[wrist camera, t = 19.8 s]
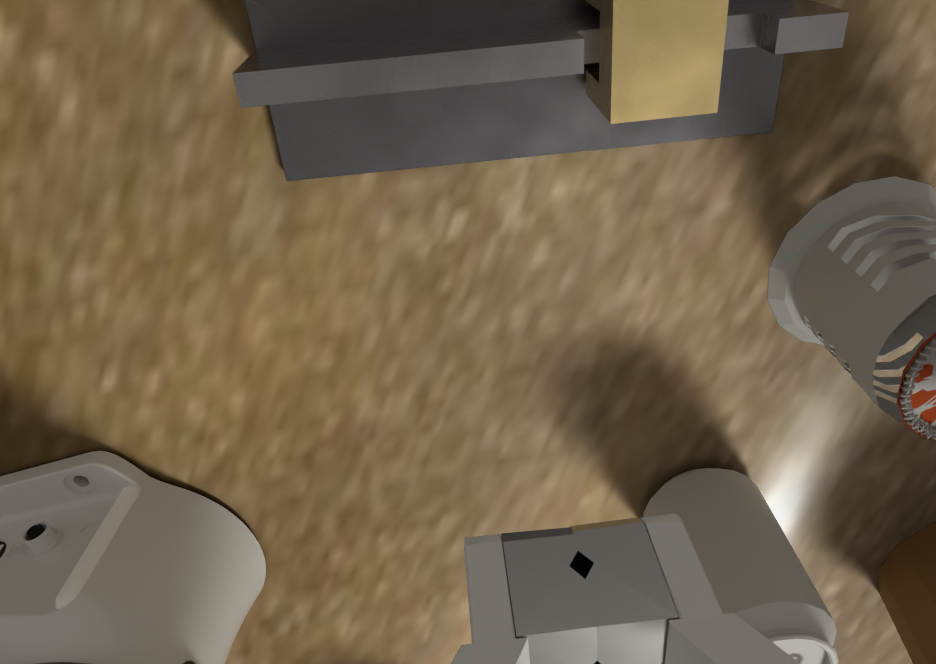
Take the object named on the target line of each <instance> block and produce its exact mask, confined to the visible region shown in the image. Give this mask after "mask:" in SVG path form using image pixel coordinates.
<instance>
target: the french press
mask: <svg viewBox="0 0 936 664" xmlns="http://www.w3.org/2000/svg"><path fill="white" fill-rule="evenodd" d="M767 300H768V302H769V304H770V306H771V309H772V311H773V313H774V316H775V318H776V320H777V323H778V324H779V325H780V326H781V327H783V328H784V329H786V330H787V331H788V332H790V333H791V334H792V335H794V336H795V337H796V338H798V339H799V340H801V341H806V342H811V343H816V344H822V345H824V346H825V348H826V349H827V350H828V351H829V352H830V353H831V354H832V355H833V356H835V357H836V358H837V361H838V362H839V363H840V364H841V365H842V366H843V367H844V369H845V370H847V371H848V372H849V373H850V374H851V375H852V378H853V379H854V380H855V381H856V382H857V384H858V385H859V386H860V387H861V388H862V389H863V390H864V391H865V392H866V393H867V394H868V396H869V397H870V398H871V399H872V400H873V401H874V402H875V403H876V404H877V405H878V407H879V408H881V409H882V410H883V411H885V412H886V413H888V414H889V415H890V416H892V417H893V418H895V419H896V420H897V421H899V422H904V424H905V425H906V426H907V427H908V428H910V429H911V430H913V431H914V432H915V433H917V434H918V435H920V436H921V437H922V438H924V439H929V440H935V441H936V190H935V189H934V188H933V187H932V186H931V185H929V184H926V183H922V182H918V181H914V180H909V179H905V178H901V177H897V176H893V177H887V178H881V179H876V180H870V181H864V182H858V183H854V184H852V185H851V186H849V187H847V188H845V189H843V190H841V191H839V192H837V193H836V194H834V195H832V196H830V197H828V198H826V199H824V200H822V201H820V202H819V203H817V204H816V205H815V206H814V207H813V208H812V209H811V210H810V211H809V212H808V213H807V214H806V215H805V216H804V217H803V218H802V219H801V220H800V221H799V222H798V223H797V224H796V225H795V226H794V227H793V228H792V229H791V230H790V231H789V232H788V233H787V234H786V236H785V238H784V240H783V242H782V244H781V246H780V248H779V250H778V252H777V253H776V255H775V257H774V259H773V261H772V263H771V265H770V269H769V281H768V293H767ZM917 332H918V333H919V334H920V335H921V336H922V337H924V338H923V339H922V340H921V341H920V342H919V343H918V344H917V345H916V347H915V348H914V349H913V350H912V351H910V352H908V353H906V354H904V355H902V356H901V357H899V358H897V359H895V360H893V361H891V362H876V359H877V356H885V355H887V354H889V353H890V352H892V351H894V350H896V349H898V348H900V347H902V346H904V345H906V344H907V343H908V341H909V340H910V339H911V338H912V337H913V336H914V335H915V334H916V333H917ZM830 346H833V347H834V348H835V349H833V348H831V347H830ZM831 351H833V352H834V353H835V354H836V355H835V354H834V353H833V352H831ZM843 359H845V361H846V362H847V363H846V362H844V361H843ZM844 365H845V366H847V367H848V368H849V369H850V370H851V371H850V370H848V369H847V368H846V367H845V366H844ZM905 366H906V367H905ZM903 367H905V369H904V370H903V374H902V377H877V376H874V375H873V371H884V370H899V369H901V368H903ZM873 380H874V381H876V382H879V383H881V384H883V385H886V386H900V387H899V392H898V393H893V392H890V391H888V390H885V389H882V388H880V387H877V386H875V385H873ZM874 390H875V391H877V392H880V393H882V394H884V395H887V396H889V397H891V398H894V399H896V400H897V404H895V403H893V402H891V401H888V400H886V399H883V398H881V397H879V396H876V395H875V392H874Z"/></svg>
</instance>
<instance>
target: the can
mask: <svg viewBox="0 0 936 664" xmlns="http://www.w3.org/2000/svg"><path fill="white" fill-rule="evenodd" d="M675 513H676V514H677V515H678V516H679V517H680V518H681V519H682V521H683V523H684V525H685V528H686V530H687V532H688V535H689V537H690V539H691V541H692V544H693V546H694V548H695V550H696V553H697V555H698V557H699V560H700V562H701V564H702V566H703V569H704V571H705V573H706V576H707V578H708V580H709V582H710V585H711V587H712V589H713V592H714V594H715V596H716V598H717V601H718V603H719V605H720V607H721V610H722V612H723V614H727V613H735V614H737V615H738V616H739V617H740V618H742V619H743V620H744V621H746V622H747V623H748V624H750V625H751V626H752V627H753V628H755V629H756V630H757V631H759V632H760V633H761V634H763V635H764V636H765V637H766V638H768V639H769V640H770V641H772V642H773V643H774V644H776V645H777V646H778V647H779V648H781V649H782V650H783V651H785V652H786V653H787V654H788V655H790V656H791V657H792V658H794V659H795V660H796V661H798V662H799V663H800V664H838V662H839V661H838V656H837V652H836V650H835V648H834V647H833V643H834V640H835V637H836V634H837V632H836V628H835V623H834V620H833V618H832V616H831V615H830V613H829V611H828V609H827V608H826V606H825V604H824V602H823V601H822V599H821V597H820V595H819V594H818V592H817V590H816V588H815V587H814V585H813V583H812V581H811V580H810V578H809V576H808V574H807V573H806V571H805V569H804V567H803V566H802V564H801V562H800V560H799V559H798V557H797V555H796V553H795V552H794V550H793V548H792V546H791V545H790V543H789V541H788V539H787V538H786V536H785V534H784V532H783V531H782V529H781V527H780V525H779V524H778V522H777V520H776V518H775V517H774V515H773V513H772V511H771V510H770V508H769V506H768V505H767V503H766V501H765V499H764V498H763V496H762V494H761V492H760V491H759V489H758V487H757V486H756V485H755V484H754V483H753V482H752V480H751V479H750V478H749V477H747V476H745V475H743V474H741V473H739V472H736V471H734V470H727V469H720V468H702V469H693V470H690V471H687V472H684V473H682V474H679V475H677V476H675V477H674V478H672V479H671V480H669V481H667V482H666V483H665V484H664V485H663V486H662V487H661V488H660V489H659V490H658V491H657V493H656V494H655V495H654V496H653V497H652V498H651V499H650V500H649V502H648V505H647V507H646V509H645V511H644V514H643V517H650V516H659V515H667V514H675Z"/></svg>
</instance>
